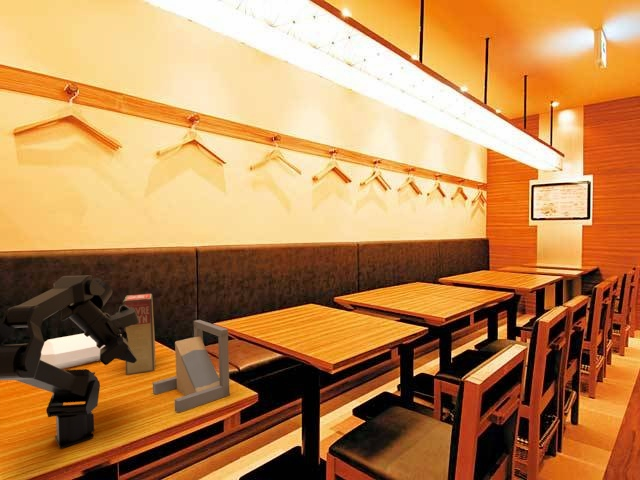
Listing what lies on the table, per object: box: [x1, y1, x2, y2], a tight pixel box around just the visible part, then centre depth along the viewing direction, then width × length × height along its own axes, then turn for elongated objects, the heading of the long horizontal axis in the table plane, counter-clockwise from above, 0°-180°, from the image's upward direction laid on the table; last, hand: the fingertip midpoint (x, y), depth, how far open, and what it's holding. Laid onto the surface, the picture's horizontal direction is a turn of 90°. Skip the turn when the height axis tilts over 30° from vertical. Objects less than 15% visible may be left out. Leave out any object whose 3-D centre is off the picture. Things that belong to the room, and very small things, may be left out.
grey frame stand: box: [152, 319, 230, 414], centre depth 109 cm, size 15×18×19 cm
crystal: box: [40, 332, 105, 370], centre depth 141 cm, size 14×10×28 cm
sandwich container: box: [174, 336, 220, 396], centre depth 111 cm, size 9×15×15 cm, turn 46°
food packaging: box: [122, 293, 156, 376], centre depth 133 cm, size 13×9×25 cm
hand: (135, 361), depth 99 cm, fingers closed
